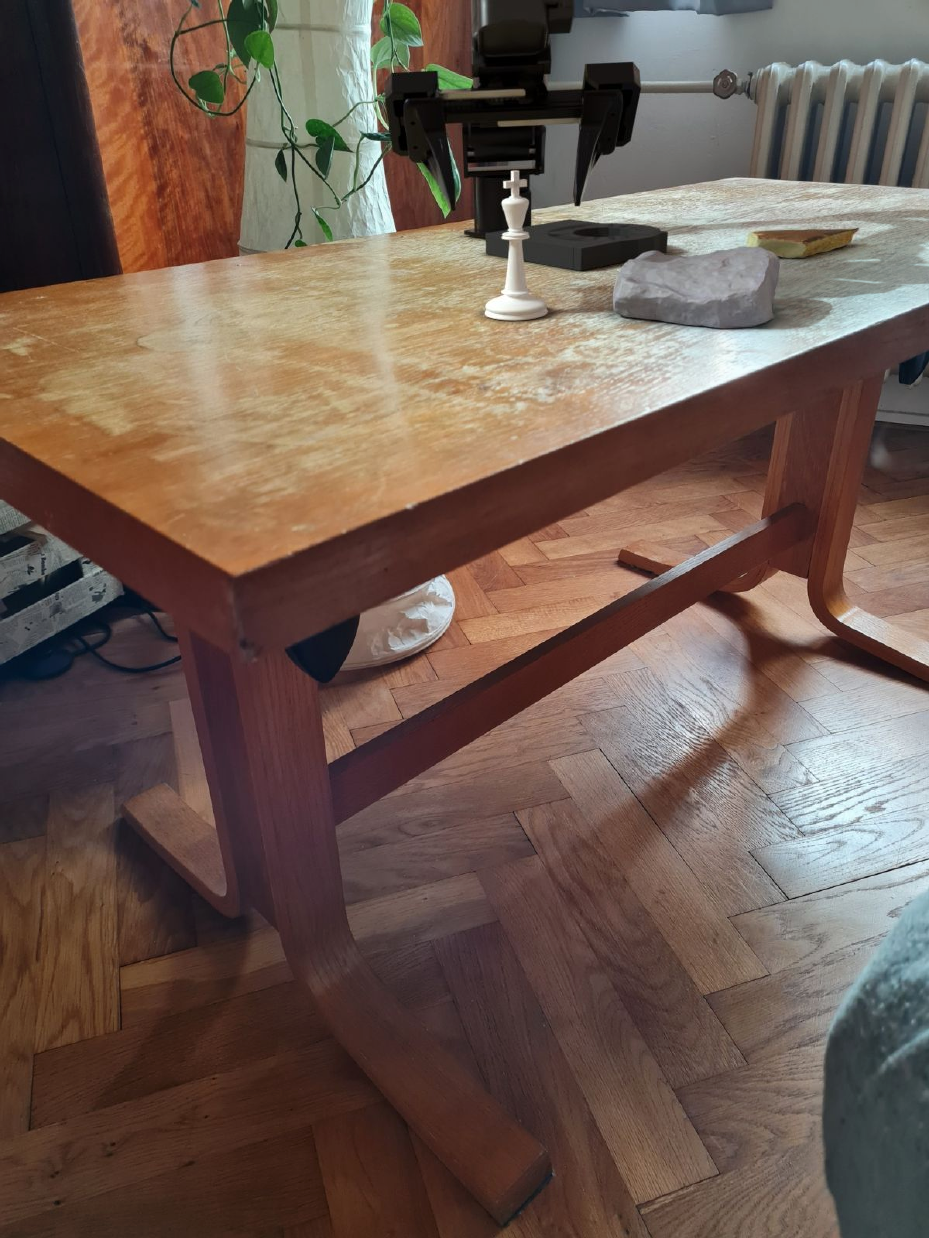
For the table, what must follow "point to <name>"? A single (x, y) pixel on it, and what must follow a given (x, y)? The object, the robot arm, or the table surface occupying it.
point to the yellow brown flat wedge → (800, 241)
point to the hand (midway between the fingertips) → (515, 205)
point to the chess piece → (515, 263)
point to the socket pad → (582, 243)
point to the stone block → (700, 287)
